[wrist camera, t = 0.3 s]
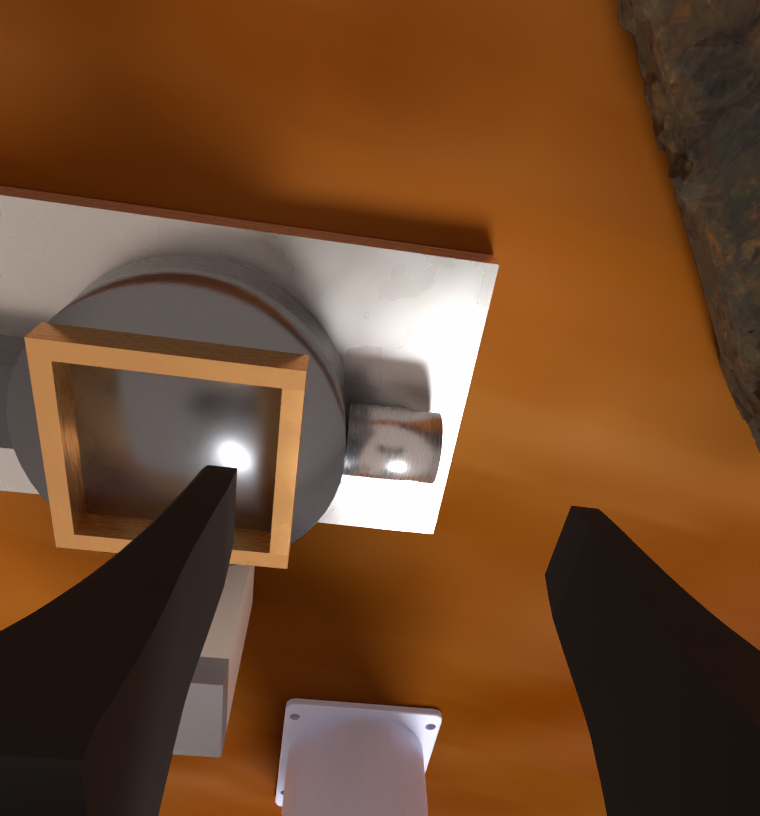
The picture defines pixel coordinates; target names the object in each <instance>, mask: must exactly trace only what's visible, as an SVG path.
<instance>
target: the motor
mask: <svg viewBox="0 0 760 816" xmlns="http://www.w3.org/2000/svg"><path fill="white" fill-rule="evenodd" d="M498 268H499V263H498V262H497V260H496V258H495V257H494V255H489V254H482V253H475V252H468V251H461V250H454V249H447V248H440V247H433V246H426V245H419V244H411V243H404V242H397V241H390V240H383V239H376V238H369V237H362V236H355V235H348V234H341V233H334V232H326V231H319V230H312V229H305V228H298V227H291V226H284V225H277V224H270V223H263V222H256V221H248V220H241V219H234V218H227V217H220V216H213V215H206V214H199V213H192V212H185V211H178V210H170V209H163V208H156V207H149V206H142V205H135V204H128V203H121V202H114V201H107V200H100V199H92V198H85V197H78V196H71V195H64V194H57V193H50V192H43V191H36V190H29V189H22V188H14V187H7V186H0V490H2V491H12V492H22V493H32V494H40V495H41V496H42V498H43V499H44V500H45V501H46V502H47V503H48V504H49V505H50V510H51V516H52V523H53V530H54V536H55V543H56V547H60V548H70V549H81V550H92V551H102V552H113V553H118V552H120V551H121V550H122V549H123V548H124V547H125V546H126V545H128V544H129V543H130V542H131V541H132V540H133V539H134V538H135V537H137V536H138V535H139V534H140V533H141V532H142V531H143V530H145V529H146V528H147V527H148V526H149V525H150V524H151V523H152V522H153V521H154V520H155V519H156V518H157V517H158V516H159V515H160V514H161V513H162V512H163V511H164V510H165V509H166V508H167V507H168V506H169V505H170V504H171V503H172V502H173V501H174V500H175V499H176V498H177V497H178V496H179V495H180V493H181V492H182V491H183V490H184V489H185V488H186V487H187V486H188V485H189V484H190V482H191V481H192V480H193V479H194V478H195V477H196V475H197V474H198V473H199V472H200V471H201V469H202V468H204V467H205V466H207V465H214V466H222V467H231V468H237V485H236V506H235V527H234V544H233V548H232V553H231V558H230V563H229V566H233V565H251V566H262V567H272V568H283V569H287V567H288V561H289V554H290V548H291V544H292V543H293V542H295V541H296V540H298V539H299V538H301V537H302V536H303V535H304V534H305V533H307V532H308V531H309V530H310V529H311V528H312V527H313V526H314V525H315V524H316V523H317V522H319V523H329V524H339V525H349V526H359V527H369V528H379V529H389V530H399V531H408V532H418V533H428V534H433V531H434V527H435V523H436V519H437V515H438V511H439V507H440V503H441V499H442V495H443V491H444V487H445V483H446V479H447V475H448V470H449V466H450V462H451V458H452V454H453V450H454V446H455V442H456V438H457V434H458V430H459V426H460V422H461V418H462V414H463V410H464V406H465V402H466V398H467V393H468V389H469V385H470V381H471V377H472V373H473V369H474V365H475V361H476V357H477V353H478V349H479V345H480V341H481V337H482V333H483V329H484V325H485V320H486V316H487V312H488V308H489V304H490V300H491V296H492V292H493V288H494V284H495V280H496V276H497V272H498Z"/></svg>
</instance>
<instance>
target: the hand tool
mask: <svg viewBox="0 0 760 816" xmlns="http://www.w3.org/2000/svg"><path fill="white" fill-rule="evenodd" d="M617 17H618V20H619V23H620V26H622V27H623V28H625V29H626V30H627V31H629V32H630V33H632V34H633V36H634V39H635V42H636V47H637V59H638V63H639V67H640V71H641V75H642V79H643V81H644V96H645V100H646V103H647V106H648V108H649V111H650V113H651V115H652V117H653V123H654V132H655V136H656V140H657V144H658V148H659V150H665V152H666V154H667V157H668V161H669V177H670V179H671V181H672V184H673V188H674V194H675V197H676V199H677V202H678V205H679V208H680V211H681V214H682V218H683V221H684V225H685V228H686V232H687V235H688V239H689V242H690V246H691V249H692V253H693V256H694V259H695V263H696V266H697V270H698V273H699V277H700V280H701V284H702V288H703V293H704V297H705V300H706V304H707V307H708V311H709V314H710V317H711V320H712V323H713V329H714V332H715V336H716V339H717V342H718V346H719V350H720V353H719V354H718V360H719V364H720V367H721V369H722V372H723V374H724V377H725V380H726V382H727V385H728V388H729V390H730V392H731V395H732V397H733V399H734V402H735V404H736V407H737V409H738V410H739V412H740V414H741V416H742V419H743V420H746V422H747V424H748V425H749V427H750V429H751V431H752V435H753V437H754V439H755V440H756V446H757V448H758V450H759V452H760V0H618V13H617Z"/></svg>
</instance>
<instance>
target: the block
mask: <svg viewBox="0 0 760 816" xmlns="http://www.w3.org/2000/svg"><path fill="white" fill-rule="evenodd" d="M254 569H255V566H251V565H233V566H229V567H228V572H227V576H226V581H225V585H224V588H223V591H222V594H221V597H220V600H219V603H218V606H217V609H216V612H215V615H214V618H213V621H212V623H211V626H210V629H209V632H208V635H207V638H206V641H205V644H204V646H203V649H202V652H201V655H200V658H199V661H198V664H197V667H196V670H195V672H194V675H193V678H192V681H191V684H190V688H189V691H188V694H187V698H186V701H185V704H184V708H183V712H182V717H181V721H180V725H179V729H178V733H177V737H176V741H175V745H174V750H173V754H176V755H191V756H206V757H221V755H222V750H223V745H224V740H225V735H226V730H227V725H228V720H229V715H230V710H231V706H232V701H233V696H234V691H235V686H236V681H237V676H238V671H239V666H240V662H241V657H242V652H243V647H244V642H245V637H246V632H247V627H248V622H249V618H250V613H251V608H252V601H253V585H254Z"/></svg>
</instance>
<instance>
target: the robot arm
mask: <svg viewBox="0 0 760 816" xmlns="http://www.w3.org/2000/svg"><path fill="white" fill-rule="evenodd" d="M236 485H237V468H231V467H222V466H214V465H207V466H205V467H204V468H202V469H201V471H200V472H199V473H198V474H197V475H196V477H195V478H194V479H193V480H192V481H191V482H190V484H189V485H188V486H187V487H186V488H185V489H184V490H183V491H182V492H181V493H180V495H179V496H178V497H177V498H176V499H175V500H174V501H173V502H172V503H171V504H170V505H169V506H168V507H167V508H166V509H165V510H164V511H163V512H162V513H161V514H160V515H159V516H158V517H157V518H156V519H155V520H154V521H153V522H152V523H151V524H150V525H149V526H148V527H147V528H146V529H145V530H143V531H142V532H141V533H140V534H139V535H138V536H137V537H135V538H134V539H133V540H132V541H131V542H130V543H129V544H128V545H126V546H125V547H124V548H123V549H122V550H121V551H120V552H118V553H117V554H116V555H115V556H114V557H112V558H111V559H110V560H109V561H107V562H106V563H105V564H104V565H102V566H101V567H100V568H98V569H97V570H96V571H94V572H93V573H92V574H90V575H89V576H88V577H86V578H85V579H84V580H82V581H81V582H79V583H78V584H77V585H75V586H74V587H72V588H71V589H69V590H68V591H66V592H65V593H63V594H62V595H60V596H59V597H57V598H56V599H54V600H53V601H51V602H50V603H48V604H46V605H45V606H43V607H42V608H40V609H38V610H37V611H35V612H34V613H32V614H30V615H29V616H27V617H25V618H23V619H22V620H20V621H18V622H16V623H14V624H12V625H11V626H9V627H7V628H5V629H3V630H2V631H0V816H158V814H159V810H160V805H161V801H162V797H163V792H164V788H165V784H166V780H167V775H168V771H169V767H170V762H171V758H172V754H173V750H174V745H175V741H176V737H177V733H178V729H179V725H180V721H181V717H182V712H183V708H184V704H185V701H186V698H187V694H188V691H189V688H190V684H191V681H192V678H193V675H194V672H195V670H196V667H197V664H198V661H199V658H200V655H201V652H202V649H203V646H204V644H205V641H206V638H207V635H208V632H209V629H210V626H211V623H212V621H213V618H214V615H215V612H216V609H217V606H218V603H219V600H220V597H221V594H222V591H223V588H224V585H225V581H226V576H227V572H228V567H229V563H230V558H231V553H232V548H233V544H234V527H235V506H236ZM545 578H546V584H547V590H548V596H549V602H550V607H551V612H552V617H553V620H554V624H555V627H556V630H557V633H558V636H559V639H560V642H561V646H562V649H563V652H564V655H565V658H566V661H567V664H568V667H569V670H570V673H571V676H572V679H573V682H574V685H575V688H576V691H577V694H578V697H579V700H580V703H581V706H582V709H583V712H584V715H585V719H586V722H587V726H588V729H589V733H590V736H591V740H592V745H593V749H594V754H595V758H596V763H597V767H598V772H599V777H600V781H601V786H602V791H603V796H604V801H605V806H606V812H607V816H760V651H759V650H758V649H757V648H755V647H754V646H753V645H751V644H750V643H749V642H747V641H746V640H745V639H743V638H742V637H741V636H739V635H738V634H737V633H735V632H734V631H733V630H731V629H730V628H729V627H727V626H726V625H725V624H724V623H723V622H721V621H720V620H719V619H718V618H716V617H715V616H714V615H713V614H711V613H710V612H709V611H708V610H707V609H706V608H704V607H703V606H702V605H701V604H700V603H699V602H698V601H696V600H695V599H694V598H693V597H692V596H691V595H689V594H688V593H687V592H686V591H685V590H684V589H683V588H682V587H680V586H679V585H678V584H677V583H676V582H675V581H674V580H673V579H672V578H671V577H670V576H669V575H667V574H666V573H665V572H664V571H663V570H662V569H661V568H660V567H659V566H658V565H657V564H656V563H655V562H654V561H653V560H652V559H651V558H650V557H649V556H647V555H646V554H645V553H644V552H643V551H642V550H641V549H640V548H639V547H638V546H637V545H636V544H635V543H634V542H633V541H632V540H631V539H630V538H629V537H628V536H627V535H626V534H625V533H624V532H623V531H622V530H621V529H620V528H619V527H618V526H617V525H616V524H615V523H614V522H612V521H611V520H610V519H609V518H608V517H607V516H606V515H605V514H604V513H603V512H601V511H600V510H599V509H595V508H586V507H577V506H571V508H570V511H569V513H568V516H567V519H566V521H565V524H564V526H563V529H562V532H561V534H560V537H559V539H558V542H557V545H556V547H555V550H554V552H553V555H552V558H551V560H550V563H549V565H548V568H547V571H546V573H545ZM441 722H442V715H441V712H440V711H439V710H437V709H429V708H416V707H403V706H390V705H377V704H364V703H351V702H338V701H325V700H311V699H298V698H294V699H290V700H289V701H287V703H286V710H285V719H284V728H283V736H282V745H281V754H280V763H279V772H278V781H277V790H276V799H275V802H276V804H277V805H279V806H282V813H281V816H428V809H427V796H426V783H425V772H426V769H427V766H428V763H429V760H430V756H431V753H432V750H433V747H434V744H435V741H436V738H437V734H438V731H439V728H440V725H441Z"/></svg>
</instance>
